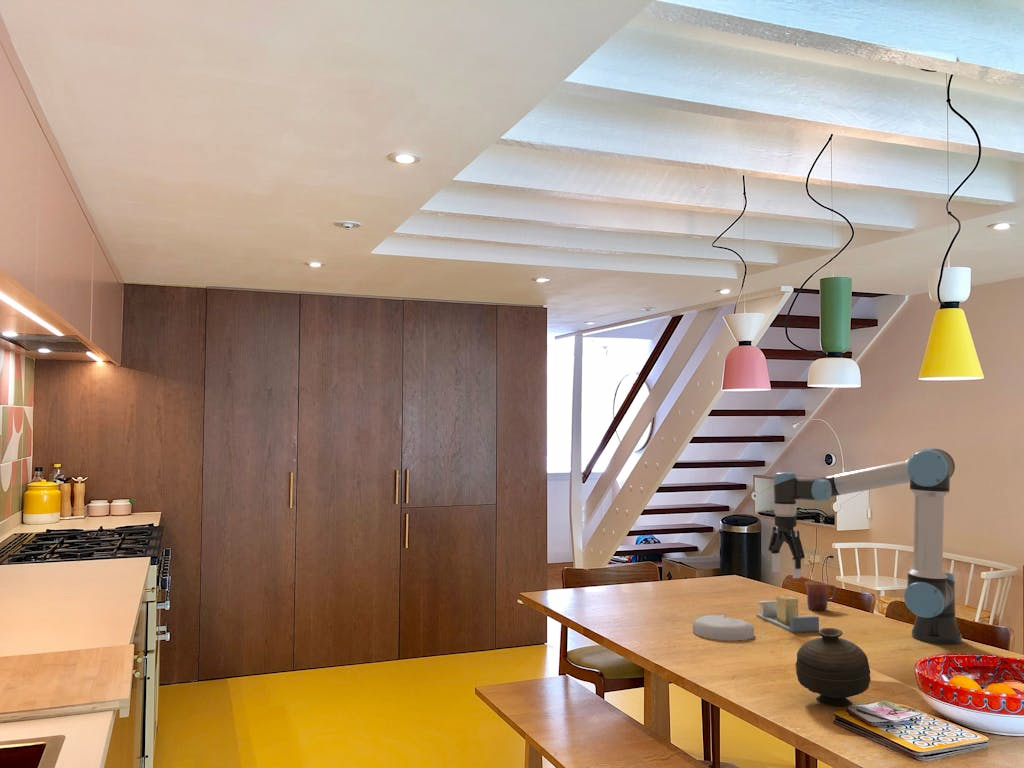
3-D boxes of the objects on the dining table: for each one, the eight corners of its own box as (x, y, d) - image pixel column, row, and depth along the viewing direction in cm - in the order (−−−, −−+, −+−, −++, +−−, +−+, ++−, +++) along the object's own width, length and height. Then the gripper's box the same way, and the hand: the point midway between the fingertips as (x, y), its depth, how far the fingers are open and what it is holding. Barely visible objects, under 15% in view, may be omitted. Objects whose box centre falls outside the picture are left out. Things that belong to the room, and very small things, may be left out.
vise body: (819, 634, 287) (818, 616, 288) (793, 636, 285) (792, 618, 286) (780, 618, 312) (780, 601, 312) (756, 619, 310) (756, 603, 310)
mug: (808, 611, 323) (808, 585, 323) (803, 606, 332) (802, 580, 332) (840, 612, 322) (840, 585, 322) (834, 607, 330) (833, 581, 331)
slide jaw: (783, 615, 309) (783, 601, 310) (760, 616, 307) (760, 602, 308) (780, 614, 311) (780, 600, 312) (758, 615, 309) (757, 601, 310)
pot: (801, 718, 205) (799, 636, 206) (791, 695, 222) (790, 620, 223) (878, 724, 201) (876, 640, 202) (863, 700, 218) (861, 623, 219)
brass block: (798, 624, 296) (798, 598, 296) (785, 625, 295) (785, 599, 295) (789, 620, 302) (789, 595, 302) (776, 621, 301) (776, 596, 301)
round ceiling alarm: (673, 631, 293) (673, 614, 293) (738, 627, 299) (737, 610, 299) (706, 650, 269) (706, 631, 269) (775, 645, 275) (775, 626, 275)
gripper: (814, 518, 289) (815, 580, 288) (776, 511, 313) (777, 568, 312) (794, 519, 287) (796, 581, 286) (758, 512, 312) (759, 569, 310)
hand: (786, 574), depth 299 cm, fingers open, 13 cm apart
